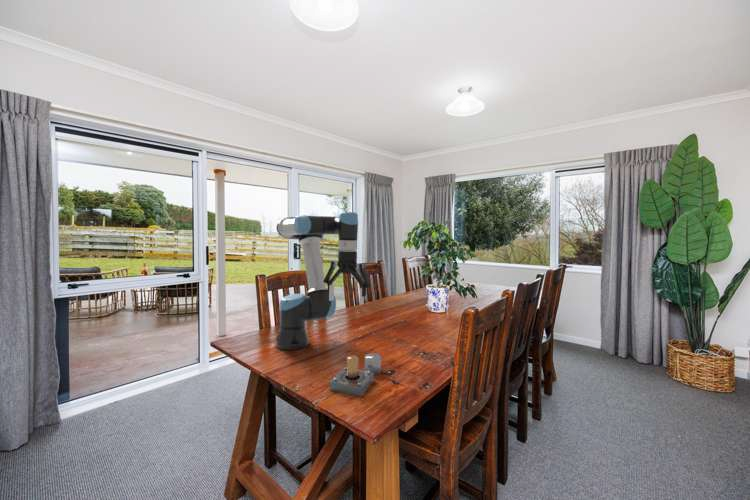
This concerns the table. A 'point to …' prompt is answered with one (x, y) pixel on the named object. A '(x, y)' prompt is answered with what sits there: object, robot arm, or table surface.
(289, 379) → the table surface
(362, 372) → the flange socket
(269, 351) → the table surface
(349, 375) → the brass peg
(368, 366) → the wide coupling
